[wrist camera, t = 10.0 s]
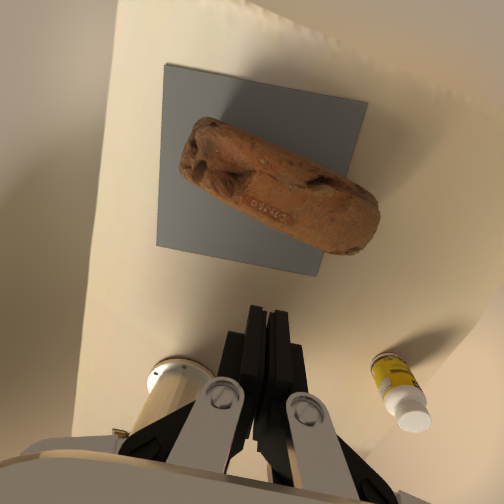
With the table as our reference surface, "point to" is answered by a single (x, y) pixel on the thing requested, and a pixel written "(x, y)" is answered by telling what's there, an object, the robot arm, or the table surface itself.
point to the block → (279, 188)
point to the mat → (262, 125)
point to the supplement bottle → (400, 392)
